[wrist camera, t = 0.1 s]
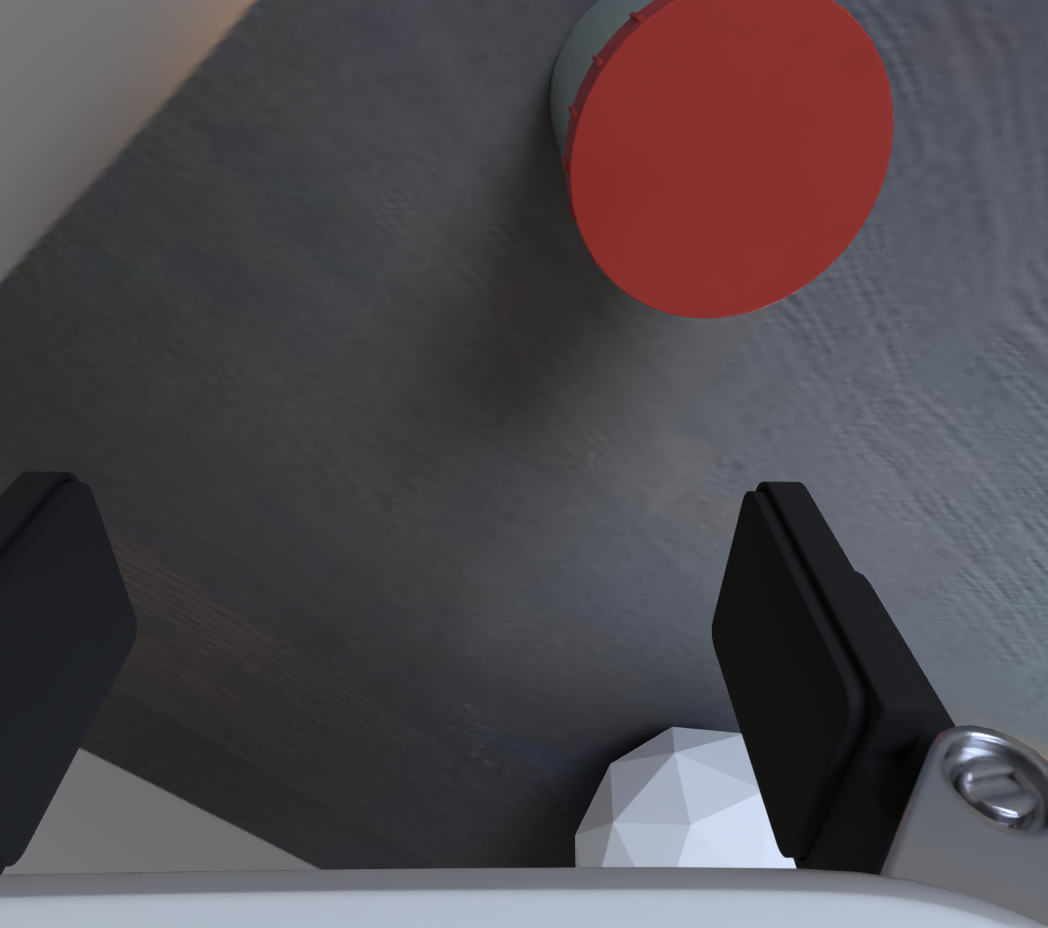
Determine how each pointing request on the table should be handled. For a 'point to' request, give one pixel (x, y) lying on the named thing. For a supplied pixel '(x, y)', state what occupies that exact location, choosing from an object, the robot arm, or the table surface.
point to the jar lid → (727, 150)
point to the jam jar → (584, 56)
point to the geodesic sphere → (680, 807)
